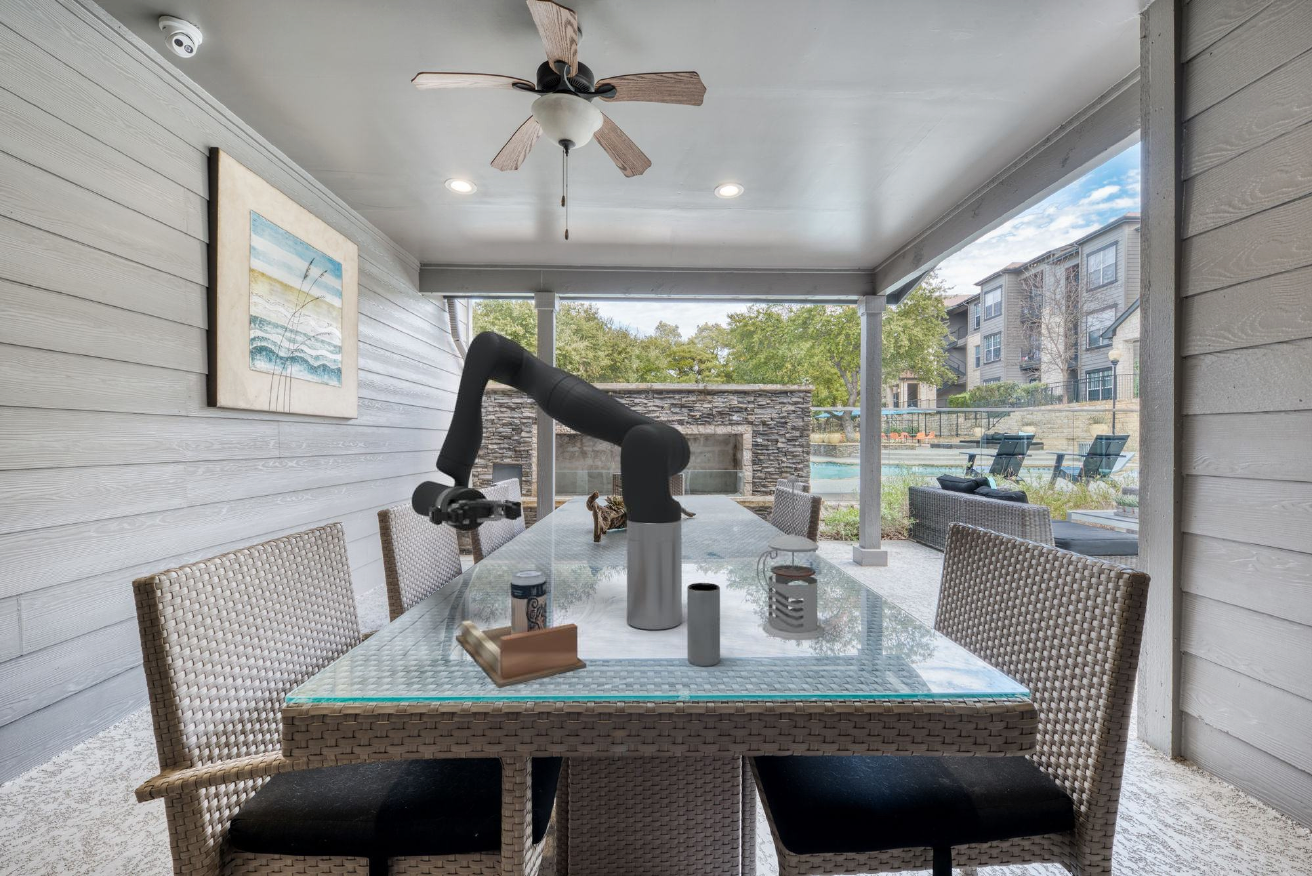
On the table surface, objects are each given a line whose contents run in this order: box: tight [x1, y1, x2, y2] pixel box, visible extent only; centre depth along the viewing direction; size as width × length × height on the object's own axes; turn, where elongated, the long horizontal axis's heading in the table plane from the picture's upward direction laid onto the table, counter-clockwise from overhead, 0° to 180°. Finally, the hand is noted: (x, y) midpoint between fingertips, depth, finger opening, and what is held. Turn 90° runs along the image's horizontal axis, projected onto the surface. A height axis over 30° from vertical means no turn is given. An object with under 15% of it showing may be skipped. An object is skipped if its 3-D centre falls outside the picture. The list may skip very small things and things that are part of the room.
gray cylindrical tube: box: [686, 582, 721, 667], centre depth 82 cm, size 4×4×10 cm
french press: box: [756, 474, 825, 641], centre depth 96 cm, size 10×12×25 cm
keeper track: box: [455, 620, 587, 688], centre depth 85 cm, size 21×12×6 cm, turn 33°
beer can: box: [510, 569, 548, 635], centre depth 81 cm, size 5×5×12 cm
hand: (488, 515), depth 92 cm, fingers open, 8 cm apart
